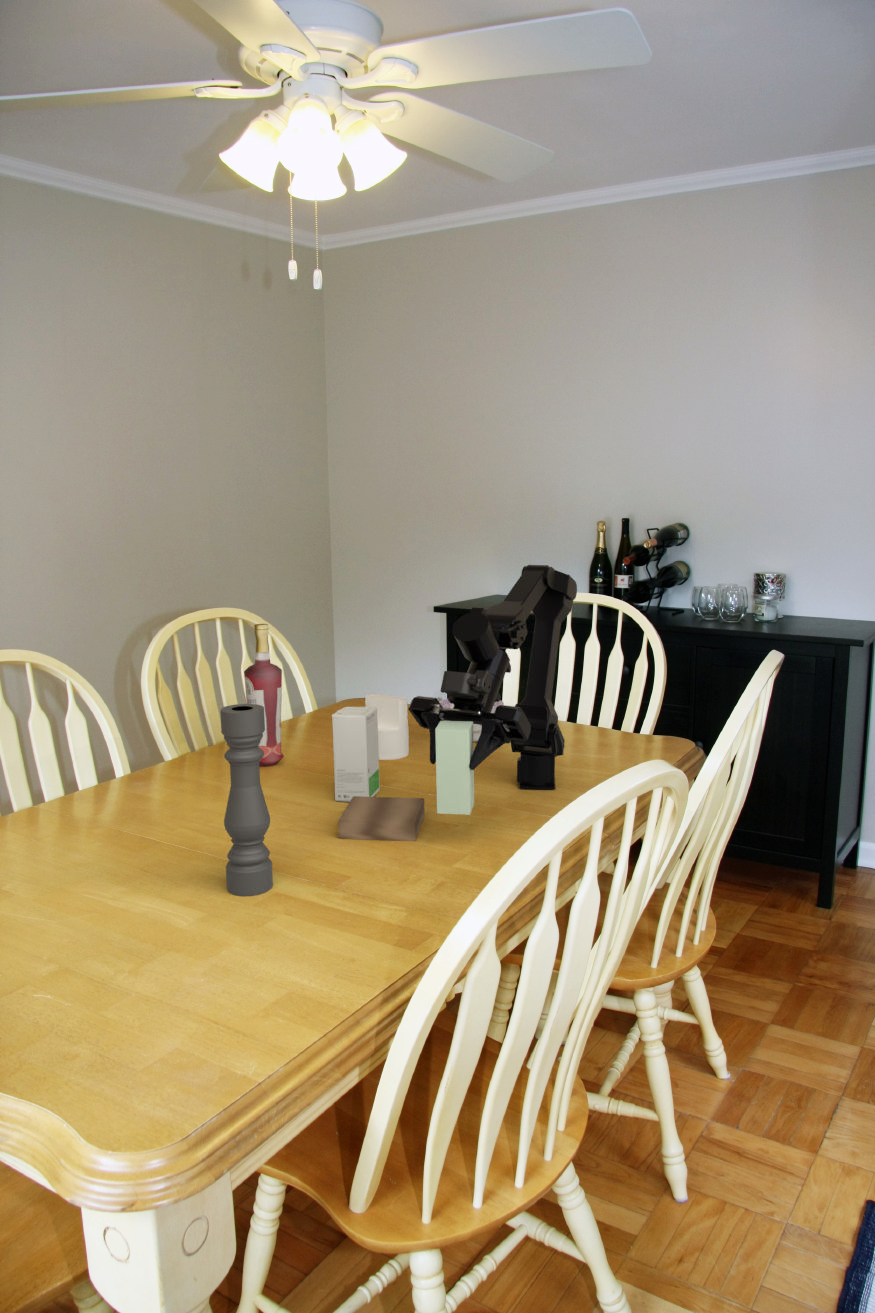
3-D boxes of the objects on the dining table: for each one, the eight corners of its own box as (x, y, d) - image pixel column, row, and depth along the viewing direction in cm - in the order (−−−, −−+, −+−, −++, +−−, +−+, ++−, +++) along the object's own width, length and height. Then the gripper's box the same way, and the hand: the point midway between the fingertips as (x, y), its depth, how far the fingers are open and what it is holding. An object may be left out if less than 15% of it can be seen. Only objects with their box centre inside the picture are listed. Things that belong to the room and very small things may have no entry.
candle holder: (251, 900, 126) (243, 715, 122) (217, 890, 129) (208, 710, 125) (282, 883, 131) (275, 706, 127) (248, 874, 134) (241, 701, 130)
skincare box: (368, 804, 165) (366, 716, 162) (331, 801, 166) (329, 714, 164) (380, 789, 173) (379, 705, 171) (346, 787, 174) (343, 704, 172)
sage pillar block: (474, 803, 146) (473, 721, 144) (470, 814, 142) (469, 729, 139) (442, 802, 147) (440, 720, 145) (437, 813, 142) (435, 729, 140)
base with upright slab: (417, 751, 198) (416, 695, 196) (392, 762, 191) (391, 703, 189) (382, 746, 203) (381, 691, 201) (356, 755, 196) (355, 698, 194)
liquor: (291, 764, 190) (286, 625, 185) (257, 770, 186) (251, 628, 181) (275, 756, 196) (270, 621, 191) (242, 762, 192) (236, 624, 187)
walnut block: (424, 815, 159) (424, 798, 158) (415, 841, 147) (415, 822, 147) (353, 813, 160) (353, 796, 160) (338, 838, 148) (338, 820, 148)
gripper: (413, 645, 148) (376, 730, 140) (523, 654, 139) (490, 745, 132) (438, 685, 156) (405, 767, 149) (544, 696, 147) (514, 784, 140)
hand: (451, 765), depth 142 cm, fingers closed on sage pillar block, 6 cm apart
